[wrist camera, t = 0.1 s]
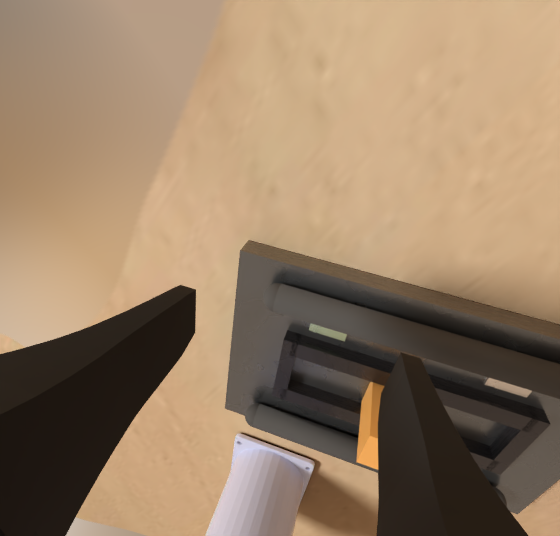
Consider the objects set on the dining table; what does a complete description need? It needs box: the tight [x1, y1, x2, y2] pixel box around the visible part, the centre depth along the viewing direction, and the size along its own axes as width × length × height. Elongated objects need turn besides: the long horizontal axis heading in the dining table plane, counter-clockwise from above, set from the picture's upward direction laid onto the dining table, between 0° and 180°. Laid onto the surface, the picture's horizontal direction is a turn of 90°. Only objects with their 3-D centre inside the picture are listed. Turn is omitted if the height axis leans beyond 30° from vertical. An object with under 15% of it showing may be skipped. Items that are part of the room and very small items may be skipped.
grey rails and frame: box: [245, 283, 560, 507], centre depth 22 cm, size 14×20×2 cm
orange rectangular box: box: [356, 382, 384, 470], centre depth 21 cm, size 3×4×4 cm
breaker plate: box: [225, 241, 560, 514], centre depth 23 cm, size 16×24×2 cm, turn 82°
